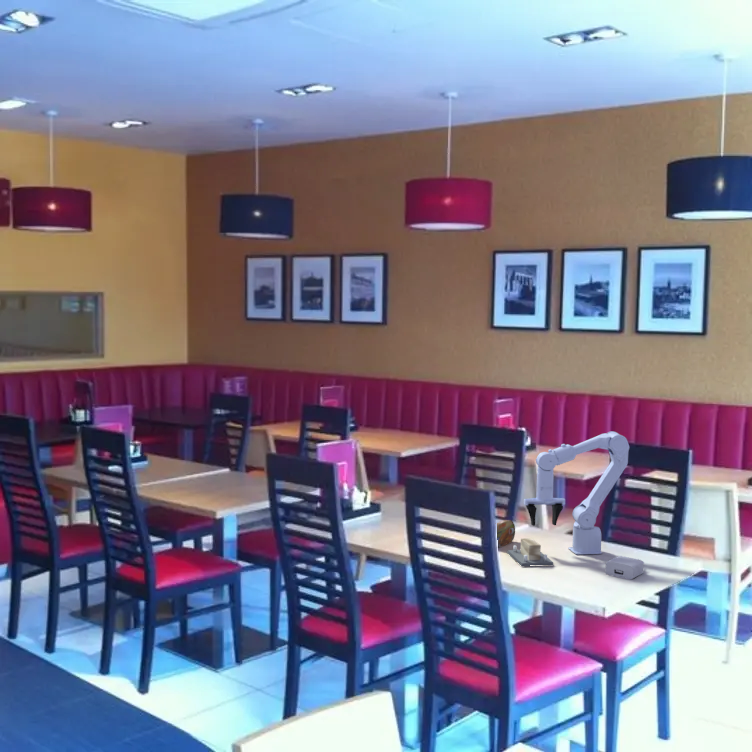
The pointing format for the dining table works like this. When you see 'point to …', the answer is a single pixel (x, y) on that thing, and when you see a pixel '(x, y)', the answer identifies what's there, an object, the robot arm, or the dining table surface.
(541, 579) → the dining table surface
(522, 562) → the standoff plate
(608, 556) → the dining table surface
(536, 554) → the birch block
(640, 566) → the charger
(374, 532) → the dining table surface
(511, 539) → the tin
